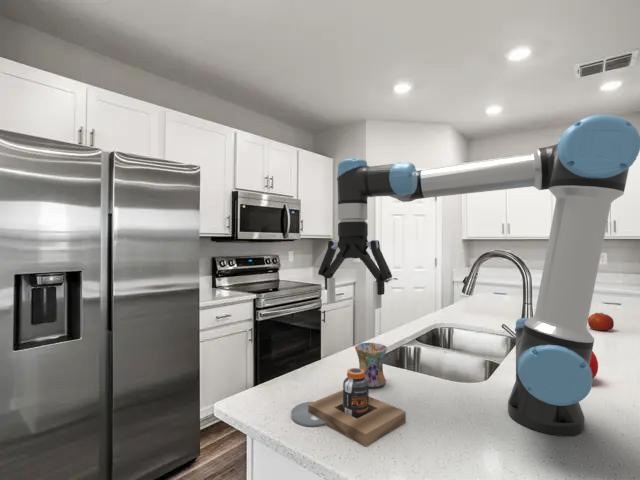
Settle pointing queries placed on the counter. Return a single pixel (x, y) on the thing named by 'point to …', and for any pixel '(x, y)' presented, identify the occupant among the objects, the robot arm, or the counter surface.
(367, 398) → the pill bottle
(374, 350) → the mug
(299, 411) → the coaster
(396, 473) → the counter surface
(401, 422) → the socket block
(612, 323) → the tomato
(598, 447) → the counter surface
